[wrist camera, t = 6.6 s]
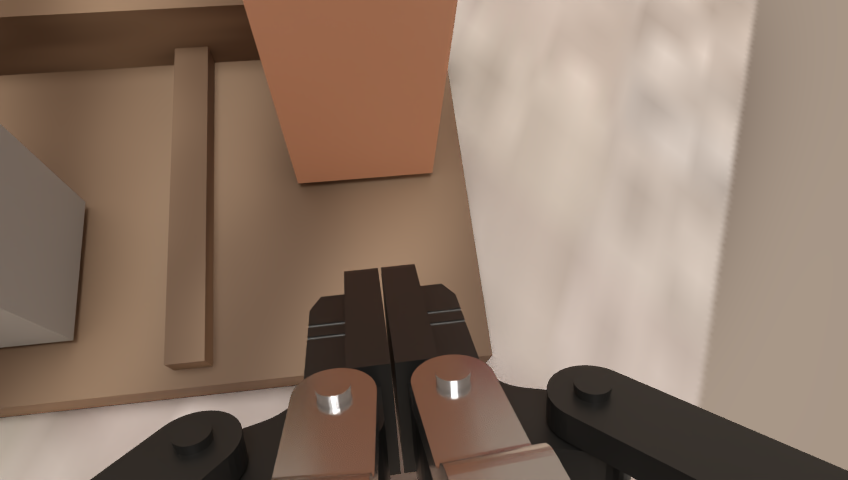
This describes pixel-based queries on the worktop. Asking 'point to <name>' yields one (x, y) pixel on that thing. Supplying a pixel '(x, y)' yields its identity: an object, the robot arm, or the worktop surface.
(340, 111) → the orange block
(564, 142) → the worktop surface
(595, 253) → the worktop surface
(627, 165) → the worktop surface
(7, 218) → the grey rectangular block
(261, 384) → the wooden divided tray
